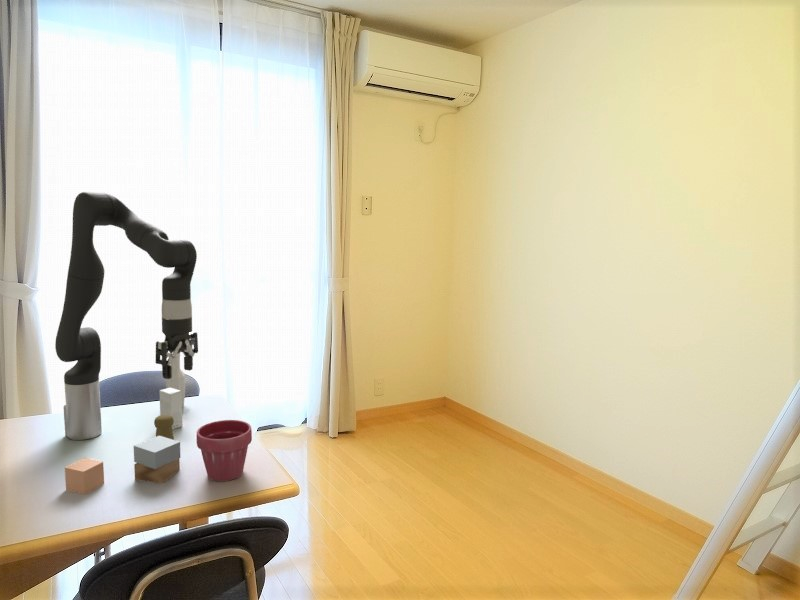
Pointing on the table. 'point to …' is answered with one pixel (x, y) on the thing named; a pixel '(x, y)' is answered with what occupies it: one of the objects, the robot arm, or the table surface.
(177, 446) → the top block
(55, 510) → the table surface
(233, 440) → the plant pot
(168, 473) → the bottom block
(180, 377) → the low poly bottle
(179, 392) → the skincare box
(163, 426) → the cork
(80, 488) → the cube
